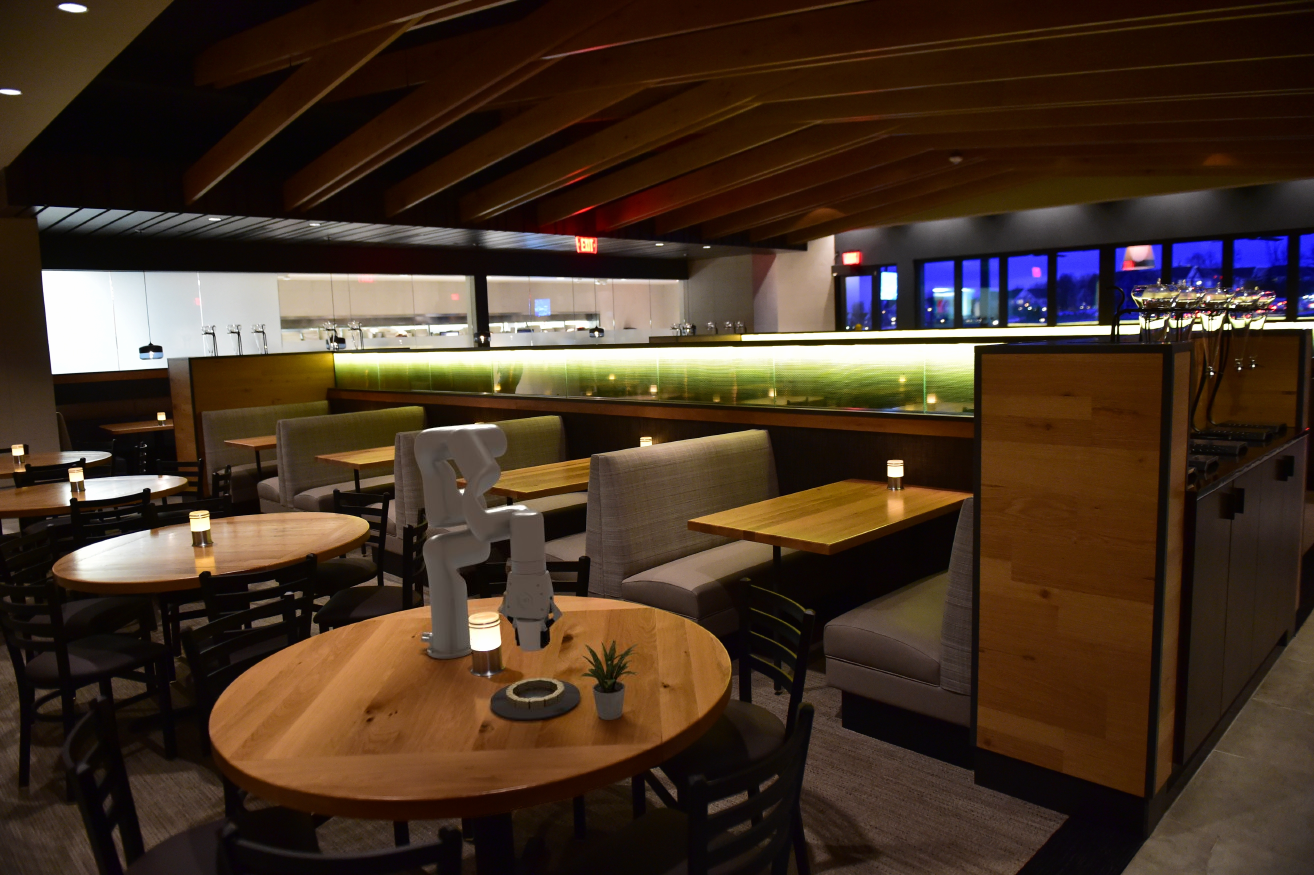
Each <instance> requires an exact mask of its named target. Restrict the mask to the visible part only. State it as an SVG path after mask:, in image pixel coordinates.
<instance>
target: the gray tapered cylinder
mask: <svg viewBox="0 0 1314 875" xmlns="http://www.w3.org/2000/svg"><path fill="white" fill-rule="evenodd" d="M541 621H542V620H539V619H525V618H516V622H517V628H518V635H519V641H520V646H519V648H520V650H521V651H523V652H527V653H533V652H539V651H542V650H544V649H545V648H541V647H540V631H542V628H541ZM545 622H547V617H546V618H545Z"/></svg>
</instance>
